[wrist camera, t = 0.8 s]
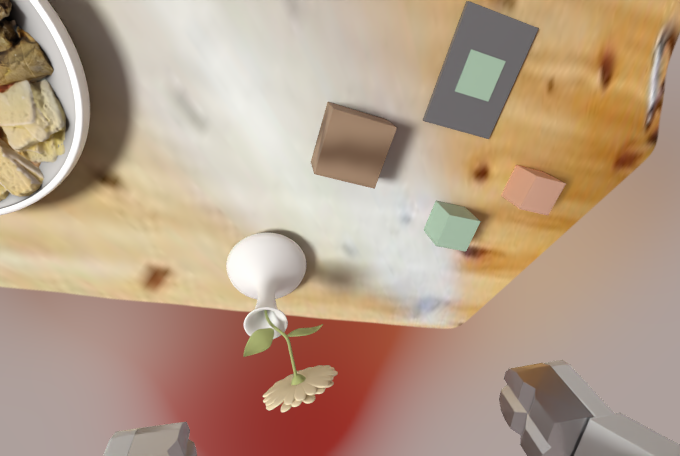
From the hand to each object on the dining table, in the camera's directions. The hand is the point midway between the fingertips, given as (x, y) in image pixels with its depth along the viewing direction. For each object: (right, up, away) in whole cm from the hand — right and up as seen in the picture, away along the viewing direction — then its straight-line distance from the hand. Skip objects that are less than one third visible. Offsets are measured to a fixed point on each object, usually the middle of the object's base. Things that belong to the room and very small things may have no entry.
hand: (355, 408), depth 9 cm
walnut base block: (+1, +16, +39) cm, 43 cm away
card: (+17, +24, +38) cm, 48 cm away
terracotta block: (+27, +11, +47) cm, 55 cm away
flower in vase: (-10, 0, +46) cm, 47 cm away
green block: (+16, +6, +47) cm, 50 cm away
